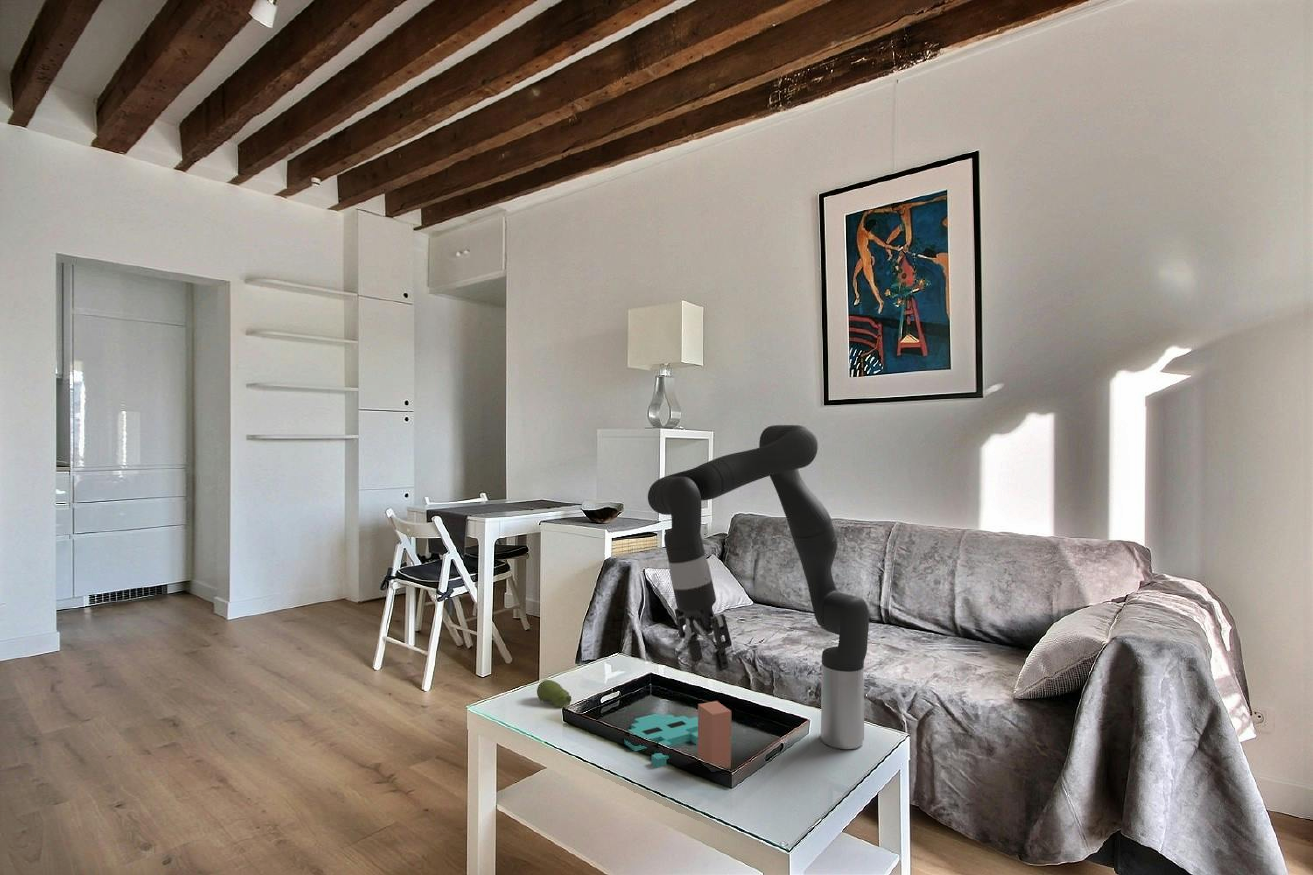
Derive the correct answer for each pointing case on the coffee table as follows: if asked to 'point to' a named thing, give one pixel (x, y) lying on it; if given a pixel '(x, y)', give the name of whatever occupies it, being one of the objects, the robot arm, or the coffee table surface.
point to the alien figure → (665, 733)
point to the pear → (553, 693)
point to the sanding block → (714, 734)
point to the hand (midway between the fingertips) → (709, 664)
